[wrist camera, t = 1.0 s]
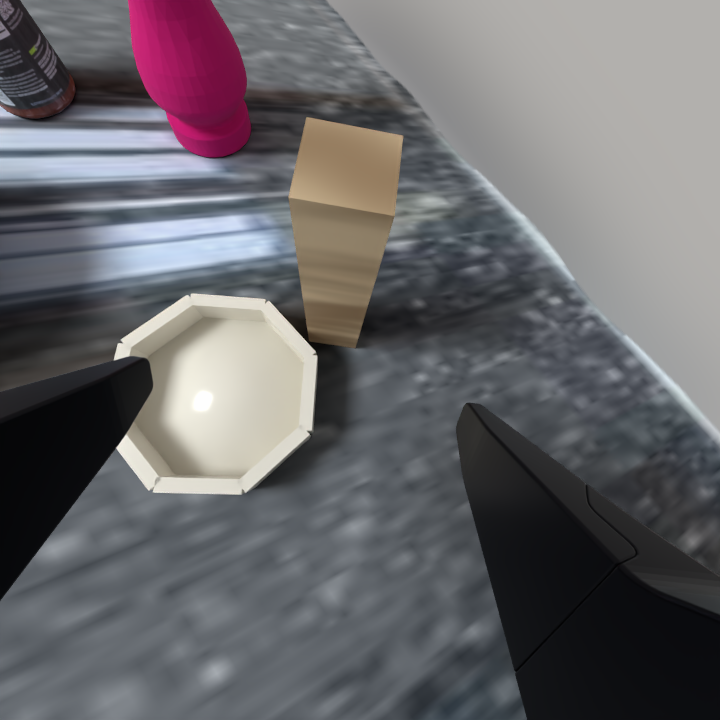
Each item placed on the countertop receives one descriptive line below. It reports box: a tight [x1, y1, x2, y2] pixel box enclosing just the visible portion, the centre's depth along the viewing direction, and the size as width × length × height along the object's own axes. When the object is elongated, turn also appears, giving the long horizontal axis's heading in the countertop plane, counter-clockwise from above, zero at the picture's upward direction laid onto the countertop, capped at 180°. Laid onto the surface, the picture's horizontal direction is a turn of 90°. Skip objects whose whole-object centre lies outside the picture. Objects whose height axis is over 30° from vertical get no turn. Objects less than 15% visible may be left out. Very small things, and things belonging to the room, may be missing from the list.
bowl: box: [114, 294, 318, 495], centre depth 21 cm, size 12×12×2 cm
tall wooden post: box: [289, 117, 403, 348], centre depth 18 cm, size 3×3×14 cm
